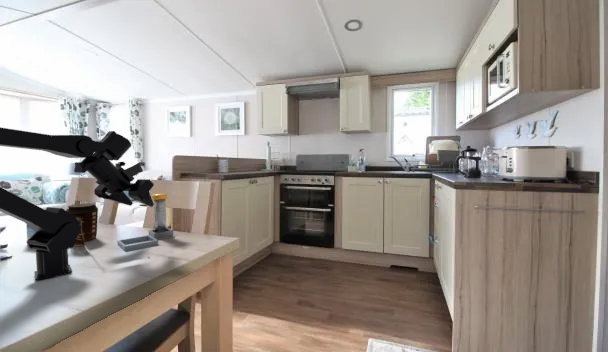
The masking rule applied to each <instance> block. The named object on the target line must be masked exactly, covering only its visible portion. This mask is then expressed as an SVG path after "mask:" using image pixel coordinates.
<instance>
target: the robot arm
mask: <svg viewBox="0 0 608 352" xmlns="http://www.w3.org/2000/svg"><path fill="white" fill-rule="evenodd" d="M0 147H6V148H15V149H16V148H17V149H24V150H25V149H26V150H35V151H41V152H47V153H50V154H53V155H56V156H60V157H64V158H68V159H79V158H82V160H81V161H78V162H77V161H76V162H74V170H73V172H74V173H76V174H77V173H78V174H85V173H86V172H88V174H90V175H91V176H92V177H93V178H94V179H96V181H95V183H96V184H97V186H96V187H95V188H94V190H93V193H94V195H95V196H96V197H98V198H99V199H104V200H108V201H111V202H116V203H119V204H121V205H122V204H123V205H126V206H130V207H131V206H132V205H133V204H134V203H133V201H134V202H136V203H140V204H142V205H144V206H148V207H149V208H150V207H151V208H154V200H153V199H152V195H151V192H150V191H151V189H153V187H154V186H155V183H154V182H153V181H152V180H151V179H150V178H149V179H148V178H147V179H146V178H145V179H142V178H141V179H137V180H136V181H135V182H134V183H131V182H133V181H134V180H135V177H134V176H136V175H139V174H140V173H143V172H144V169H143V168H142V165H141V163H140V161H129V162H128V161H127V162H125V161H119V160H120V159H121V158H122V157H123V156H124V155H125V154H126V152H128V151H129V149H131V147H132V143H131V142H130V140H129V139H128V138H126V137H125V136H123V135H121V134H119V133H117V132H116V131H115V130H111V131H110V130H109V131H108V132H107V133H105V135H104V136H103V138H102V139H100V140H99V141H96V140H93V139H92V137H90V136H89V135H84V134H53V135H52V134H47V133H39V132H32V131H28V130H27V131H26V130H19V129H15V128H14V129H12V128H8V127H0ZM111 161H117V162H115V164H114V163H113V162H111ZM125 192H128V195H127V193H125ZM129 197H130V198H131V199H132V200H133V201H132V200H131V199H130V198H129ZM45 209H46V210H45ZM45 209H44V208H43V207H40V206H39V205H37V204H34V203H32V202H30V201H28V200H27V199H24V198H22V197H21V196H19V195H16V194H14V192H11V191H8V190H7V189H5V188H3V187H1V186H0V212H1V213H2V214H5V215H8V216H10V217H12V218H14V219H16V220H19V221H21V222H22V223H25V224H26V226H27V225H28V226H29V227H30V228H31V229H32V230H33V231H35V233H34V234H33V235H32V236H31V237H30V238H29V239H28V240H27V239H26V244H27V246H28V248H29V250H35V260H36V261H35V263H36V270H35V271H34V281H40V280H45V279H49V278H55V277H58V276H64V275H68V274H71V273H73V270H72V267H71V264H69V250H68V249H72V248H74V247H75V246H74V244H75V241H76V238H77V236H78V235H79V233H80V231H81V222H80V221H79V220H77V219H75V218H76V217H77V216H75V215H71V214H69V213H68V212H67V211H66V210H67V209H64V208H61V207H52V206H47V207H46V208H45Z"/></svg>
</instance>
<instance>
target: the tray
mask: <svg viewBox="0 0 608 352" xmlns="http://www.w3.org/2000/svg"><path fill="white" fill-rule="evenodd" d="M142 241H144V242H142ZM137 242H138V243H137ZM116 243H117V246H118V247H119V248H120V249H121V250H122V251H124V252H128V251H133V250H139V249H144V248H148V247H153V246H154V247H155V246H159V240H157V239H155V238H153V237H151V236H150V235H149V234H147V235H143V236H137V237H131V238H125V239H118V240H117V241H116ZM133 243H134V244H133ZM128 244H129V245H128Z"/></svg>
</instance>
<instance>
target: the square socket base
mask: <svg viewBox="0 0 608 352" xmlns="http://www.w3.org/2000/svg"><path fill="white" fill-rule="evenodd" d="M148 235H150V236H151V237H153V238H155V239H157V240H158V241H159V240H164V239H168V238H175V237H180V236H181V235H180V234H178V233H176V232H174V230H173V229H171V228H169V227H167V231H164V232H158V233H155V229H150V230H148Z"/></svg>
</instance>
